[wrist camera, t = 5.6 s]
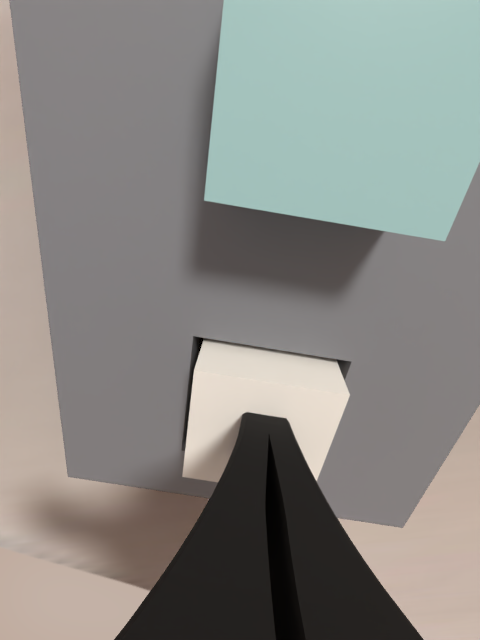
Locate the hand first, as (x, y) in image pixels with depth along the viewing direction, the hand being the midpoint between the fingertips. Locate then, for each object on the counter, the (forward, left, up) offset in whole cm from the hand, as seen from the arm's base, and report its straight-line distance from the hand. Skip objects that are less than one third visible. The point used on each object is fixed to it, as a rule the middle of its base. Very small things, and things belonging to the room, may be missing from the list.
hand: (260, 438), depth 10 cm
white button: (0, 0, -3) cm, 3 cm away
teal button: (0, +9, -2) cm, 9 cm away
